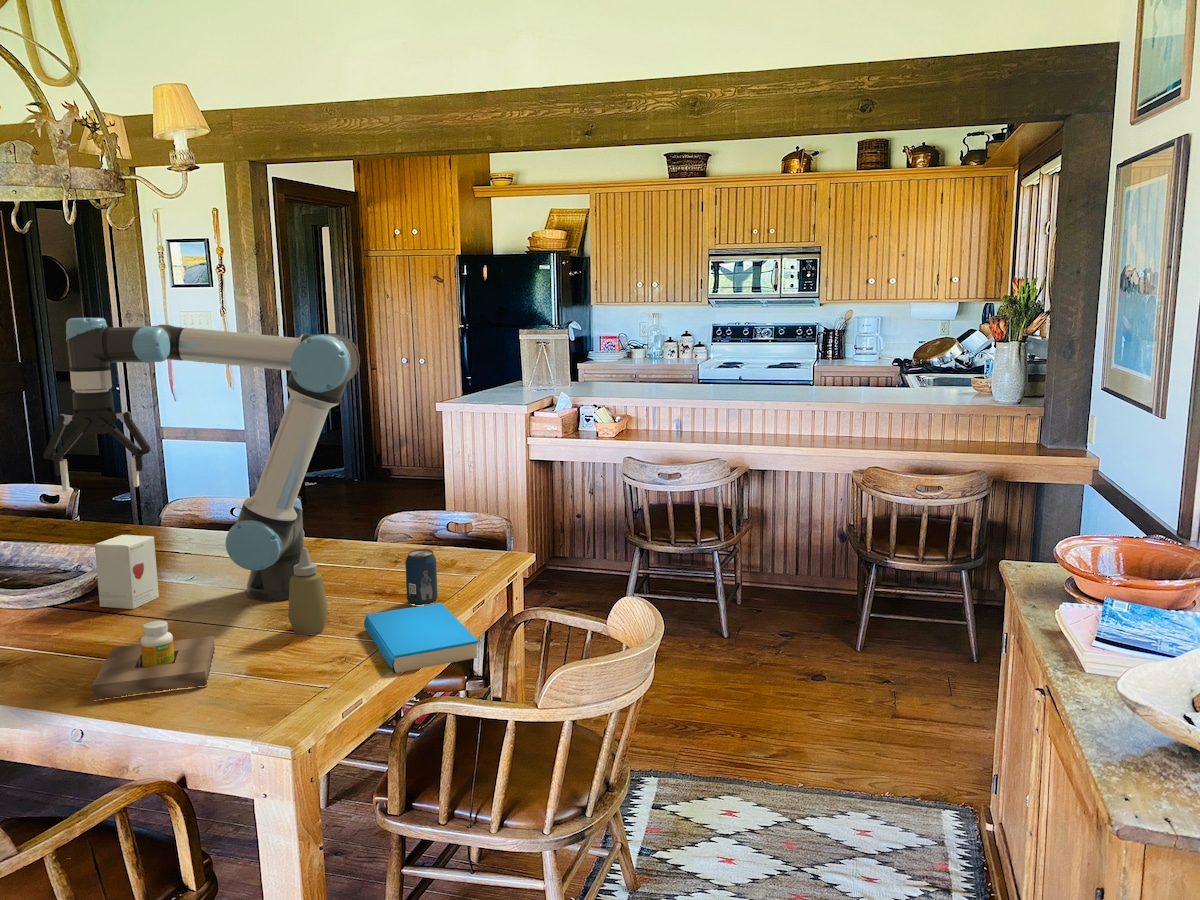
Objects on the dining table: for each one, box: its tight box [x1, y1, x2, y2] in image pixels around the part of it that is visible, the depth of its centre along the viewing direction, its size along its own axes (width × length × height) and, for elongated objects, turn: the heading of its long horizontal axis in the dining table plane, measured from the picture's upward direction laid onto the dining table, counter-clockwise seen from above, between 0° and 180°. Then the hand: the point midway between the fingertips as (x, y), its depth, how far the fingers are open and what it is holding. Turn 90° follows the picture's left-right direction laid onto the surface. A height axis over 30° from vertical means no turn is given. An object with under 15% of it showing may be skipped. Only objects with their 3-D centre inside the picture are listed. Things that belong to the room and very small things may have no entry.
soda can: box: [405, 548, 439, 605], centre depth 203 cm, size 7×7×12 cm
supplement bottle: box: [140, 620, 175, 667], centre depth 165 cm, size 5×5×10 cm
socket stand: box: [91, 635, 216, 701], centre depth 165 cm, size 18×18×3 cm
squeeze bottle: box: [287, 547, 329, 636], centre depth 186 cm, size 8×8×18 cm
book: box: [363, 602, 479, 674], centre depth 180 cm, size 17×4×25 cm
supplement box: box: [94, 534, 160, 610], centre depth 204 cm, size 9×9×15 cm
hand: (101, 488), depth 193 cm, fingers open, 13 cm apart
